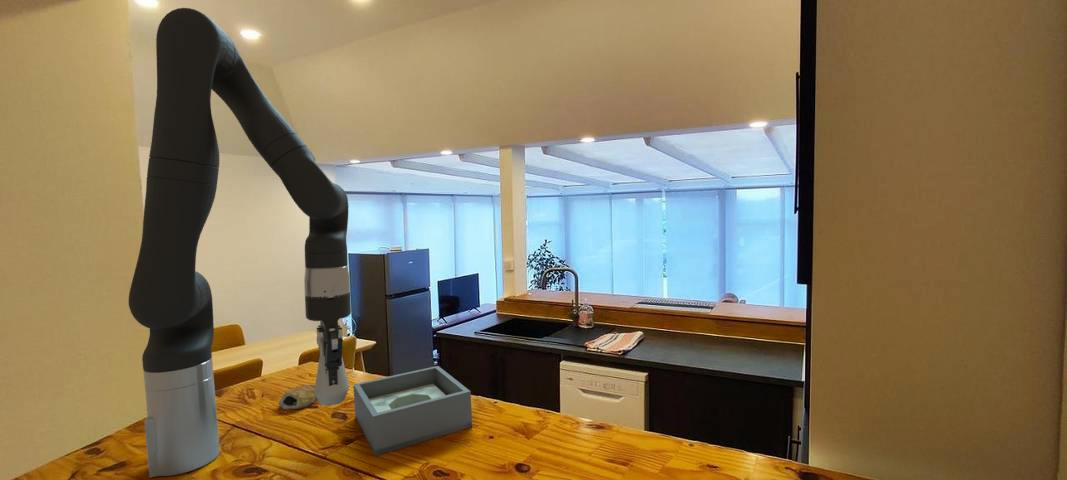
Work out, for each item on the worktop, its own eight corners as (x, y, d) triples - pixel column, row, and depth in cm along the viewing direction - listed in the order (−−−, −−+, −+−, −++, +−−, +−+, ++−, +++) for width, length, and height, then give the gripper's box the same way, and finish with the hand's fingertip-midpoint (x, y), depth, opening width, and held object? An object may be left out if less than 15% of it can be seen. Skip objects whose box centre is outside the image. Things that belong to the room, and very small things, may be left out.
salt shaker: (355, 395, 86) (352, 327, 85) (339, 408, 80) (336, 335, 79) (326, 394, 86) (323, 327, 86) (308, 407, 81) (305, 335, 80)
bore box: (375, 456, 77) (372, 416, 77) (355, 417, 93) (353, 384, 92) (472, 426, 87) (470, 391, 86) (439, 396, 102) (438, 365, 102)
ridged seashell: (305, 392, 108) (304, 377, 107) (331, 394, 106) (330, 378, 106) (276, 410, 99) (274, 392, 98) (303, 411, 97) (302, 394, 97)
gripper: (301, 288, 86) (305, 377, 87) (308, 299, 74) (312, 402, 75) (343, 284, 90) (346, 369, 91) (356, 294, 78) (360, 392, 79)
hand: (331, 384), depth 83 cm, fingers closed on salt shaker, 3 cm apart
